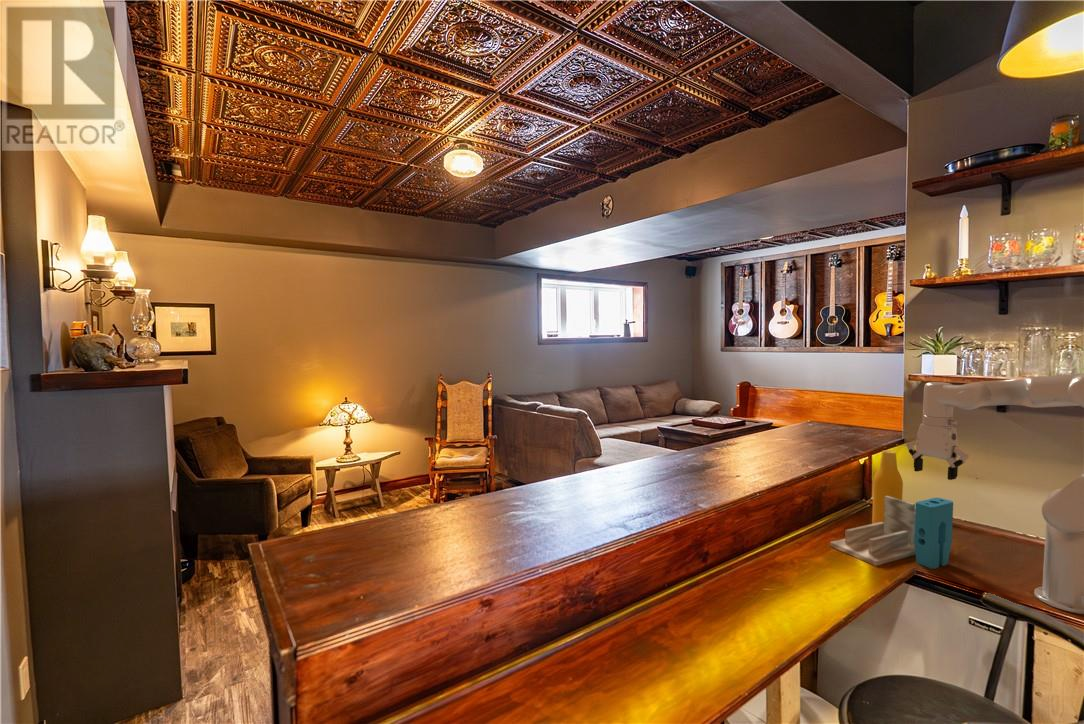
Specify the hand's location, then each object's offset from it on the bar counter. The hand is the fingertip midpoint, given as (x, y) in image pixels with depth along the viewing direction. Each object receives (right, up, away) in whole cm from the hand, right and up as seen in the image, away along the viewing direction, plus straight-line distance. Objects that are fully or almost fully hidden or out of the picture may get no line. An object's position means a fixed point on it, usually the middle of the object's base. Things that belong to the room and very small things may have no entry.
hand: (934, 474), depth 161 cm
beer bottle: (+6, -27, +31) cm, 41 cm away
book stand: (-10, -28, +12) cm, 32 cm away
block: (0, -29, +2) cm, 29 cm away
